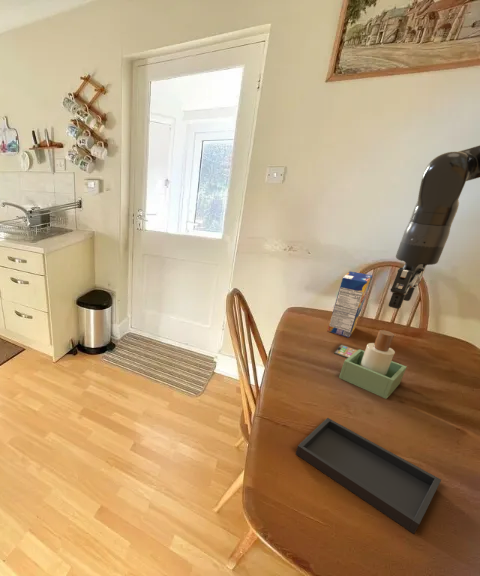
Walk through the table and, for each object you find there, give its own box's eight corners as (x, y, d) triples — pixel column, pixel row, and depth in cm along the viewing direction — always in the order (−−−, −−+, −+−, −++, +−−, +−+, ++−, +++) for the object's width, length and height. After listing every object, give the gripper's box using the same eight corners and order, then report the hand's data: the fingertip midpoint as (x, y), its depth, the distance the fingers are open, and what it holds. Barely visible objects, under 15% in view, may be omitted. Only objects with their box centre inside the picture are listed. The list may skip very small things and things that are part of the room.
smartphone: (392, 376, 95) (393, 372, 94) (333, 355, 105) (334, 352, 105) (396, 365, 100) (397, 362, 99) (340, 347, 110) (341, 344, 110)
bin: (398, 386, 90) (407, 366, 88) (385, 401, 85) (393, 380, 82) (353, 367, 99) (359, 348, 97) (338, 379, 93) (344, 360, 91)
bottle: (385, 382, 91) (404, 334, 85) (377, 390, 88) (397, 340, 82) (360, 372, 95) (376, 325, 90) (352, 379, 92) (368, 331, 87)
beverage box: (326, 331, 121) (342, 277, 113) (334, 322, 128) (349, 271, 120) (348, 337, 116) (366, 282, 108) (355, 328, 123) (372, 275, 115)
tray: (436, 488, 62) (441, 479, 61) (414, 534, 54) (419, 524, 53) (324, 425, 77) (327, 417, 76) (295, 454, 69) (297, 445, 68)
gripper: (437, 249, 68) (410, 315, 74) (451, 241, 76) (426, 301, 82) (392, 243, 74) (371, 305, 80) (410, 235, 82) (389, 293, 87)
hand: (399, 303), depth 81 cm, fingers open, 8 cm apart
